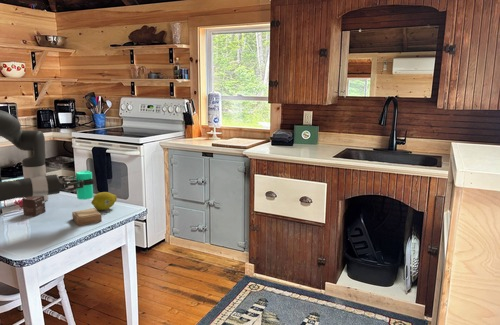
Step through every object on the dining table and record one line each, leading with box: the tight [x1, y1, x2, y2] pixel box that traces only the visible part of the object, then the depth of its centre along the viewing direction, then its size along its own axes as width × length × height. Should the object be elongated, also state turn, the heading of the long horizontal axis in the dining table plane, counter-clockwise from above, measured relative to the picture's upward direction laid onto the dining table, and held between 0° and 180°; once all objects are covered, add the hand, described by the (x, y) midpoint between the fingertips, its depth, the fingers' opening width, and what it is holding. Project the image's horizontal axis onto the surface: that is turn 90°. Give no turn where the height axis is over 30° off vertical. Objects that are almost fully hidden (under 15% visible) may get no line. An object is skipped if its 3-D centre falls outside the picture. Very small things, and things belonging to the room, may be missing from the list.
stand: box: [71, 207, 102, 227], centre depth 157 cm, size 9×9×3 cm
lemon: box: [91, 191, 118, 211], centre depth 169 cm, size 11×8×8 cm
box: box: [21, 196, 46, 217], centre depth 162 cm, size 6×6×7 cm
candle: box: [75, 170, 94, 201], centre depth 154 cm, size 6×6×12 cm
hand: (91, 179), depth 155 cm, fingers closed on candle, 4 cm apart
